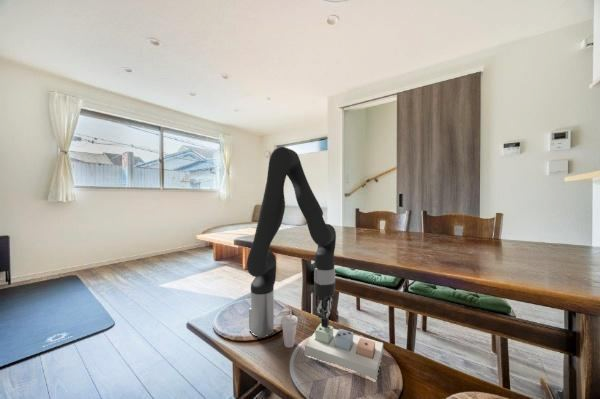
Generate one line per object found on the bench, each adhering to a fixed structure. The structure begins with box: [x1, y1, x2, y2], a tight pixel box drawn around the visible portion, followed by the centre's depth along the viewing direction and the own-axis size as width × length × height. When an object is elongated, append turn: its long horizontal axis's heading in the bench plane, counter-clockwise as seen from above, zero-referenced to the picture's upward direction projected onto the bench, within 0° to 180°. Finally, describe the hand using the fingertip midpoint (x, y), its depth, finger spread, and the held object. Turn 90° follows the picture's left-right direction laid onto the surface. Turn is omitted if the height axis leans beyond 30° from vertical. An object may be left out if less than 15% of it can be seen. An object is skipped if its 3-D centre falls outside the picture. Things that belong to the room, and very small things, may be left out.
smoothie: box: [280, 307, 299, 349], centre depth 87 cm, size 6×6×14 cm
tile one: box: [357, 338, 375, 359], centre depth 78 cm, size 5×5×6 cm
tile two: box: [314, 322, 334, 344], centre depth 85 cm, size 5×5×6 cm
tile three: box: [335, 328, 354, 351], centre depth 81 cm, size 5×5×6 cm
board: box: [304, 328, 384, 380], centre depth 82 cm, size 24×14×4 cm, turn 62°
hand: (325, 326), depth 85 cm, fingers closed
